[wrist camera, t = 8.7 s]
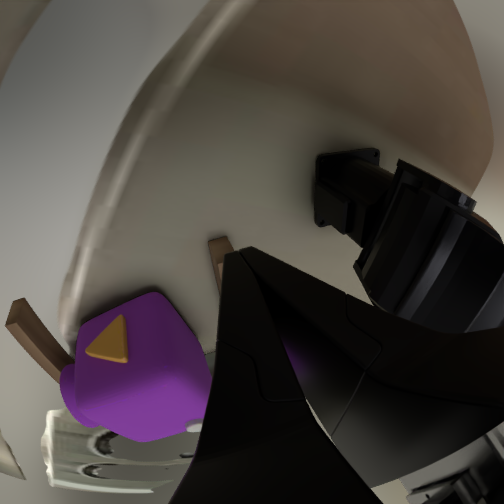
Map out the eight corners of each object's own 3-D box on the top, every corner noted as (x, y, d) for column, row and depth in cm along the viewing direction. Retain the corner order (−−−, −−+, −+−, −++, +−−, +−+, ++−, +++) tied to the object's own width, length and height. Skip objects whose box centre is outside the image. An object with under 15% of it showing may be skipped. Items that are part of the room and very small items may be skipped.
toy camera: (46, 340, 21) (39, 433, 13) (141, 266, 21) (155, 376, 13) (121, 384, 28) (133, 462, 20) (213, 331, 28) (246, 417, 20)
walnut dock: (226, 236, 22) (243, 266, 19) (246, 349, 31) (259, 376, 28) (13, 301, 18) (2, 335, 15) (90, 390, 27) (92, 419, 24)
